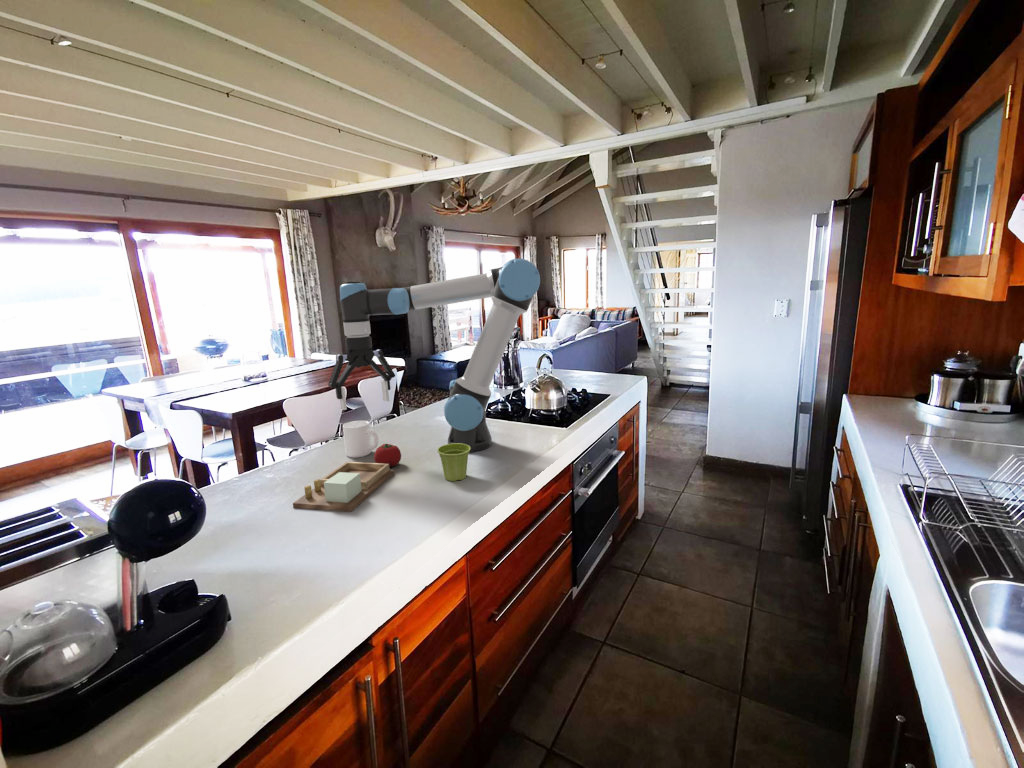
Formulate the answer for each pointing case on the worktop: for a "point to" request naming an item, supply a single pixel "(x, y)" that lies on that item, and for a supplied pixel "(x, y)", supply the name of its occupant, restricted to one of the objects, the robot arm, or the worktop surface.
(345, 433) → the mug
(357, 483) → the block
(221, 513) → the worktop surface
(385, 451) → the tomato
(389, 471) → the housing base
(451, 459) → the plant pot
